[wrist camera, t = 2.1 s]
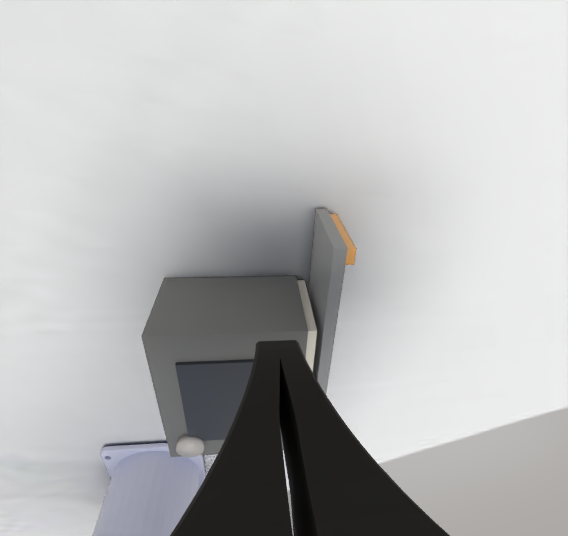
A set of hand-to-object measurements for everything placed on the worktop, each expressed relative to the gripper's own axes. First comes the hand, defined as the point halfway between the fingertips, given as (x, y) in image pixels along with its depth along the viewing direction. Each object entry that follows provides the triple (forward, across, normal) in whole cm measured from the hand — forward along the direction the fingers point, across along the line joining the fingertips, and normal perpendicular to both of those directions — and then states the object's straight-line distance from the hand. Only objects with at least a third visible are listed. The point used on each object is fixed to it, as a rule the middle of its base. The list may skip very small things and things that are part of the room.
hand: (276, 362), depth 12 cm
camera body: (+9, +2, +8) cm, 12 cm away
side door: (+9, -3, +5) cm, 11 cm away
